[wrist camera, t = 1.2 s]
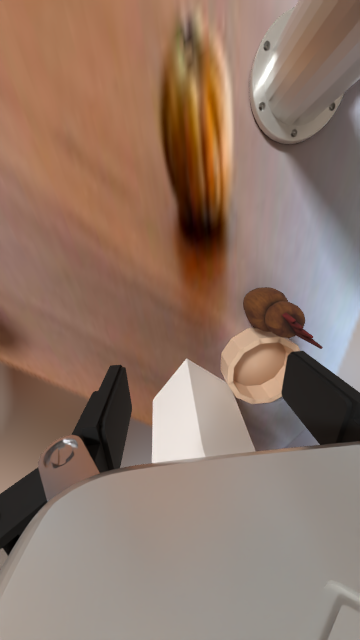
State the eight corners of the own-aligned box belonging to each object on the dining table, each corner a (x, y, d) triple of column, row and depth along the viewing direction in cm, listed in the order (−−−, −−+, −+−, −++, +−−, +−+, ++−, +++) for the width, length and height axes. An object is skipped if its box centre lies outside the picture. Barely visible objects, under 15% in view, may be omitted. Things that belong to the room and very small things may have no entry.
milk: (195, 421, 44) (234, 634, 20) (153, 399, 41) (136, 619, 17) (229, 384, 41) (324, 579, 17) (186, 358, 38) (225, 548, 14)
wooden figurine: (272, 313, 36) (341, 353, 22) (243, 323, 37) (293, 369, 22) (266, 279, 34) (337, 299, 20) (234, 290, 34) (284, 319, 20)
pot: (272, 313, 36) (287, 322, 32) (297, 366, 41) (313, 380, 37) (208, 351, 38) (214, 364, 34) (239, 397, 43) (247, 414, 38)
